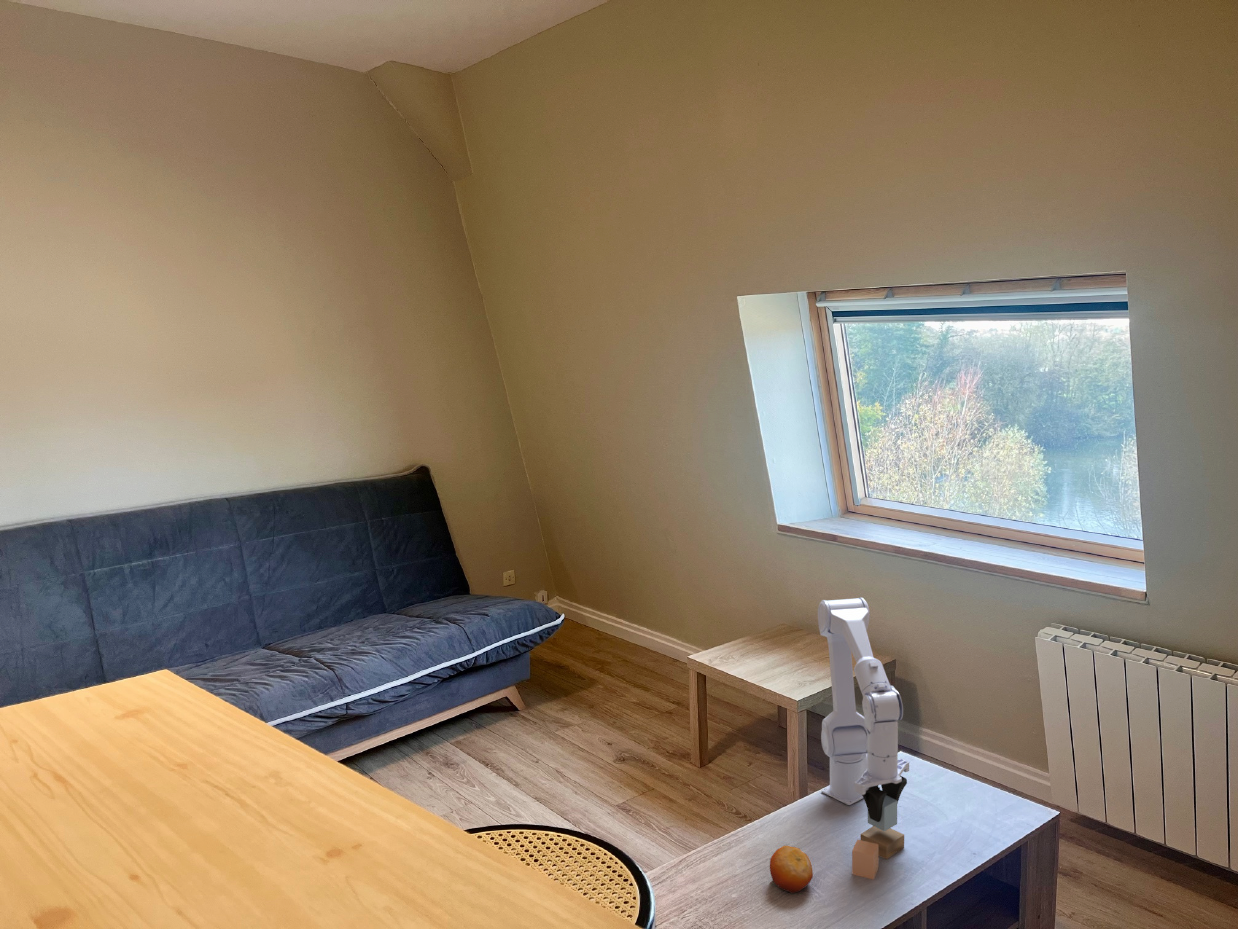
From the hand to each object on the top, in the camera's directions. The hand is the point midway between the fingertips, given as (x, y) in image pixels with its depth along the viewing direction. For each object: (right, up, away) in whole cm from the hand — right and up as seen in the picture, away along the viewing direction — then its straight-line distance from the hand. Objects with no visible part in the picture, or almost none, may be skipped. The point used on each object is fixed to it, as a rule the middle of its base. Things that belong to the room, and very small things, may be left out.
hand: (882, 815), depth 181 cm
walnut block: (0, -7, +1) cm, 7 cm away
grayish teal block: (0, -2, 0) cm, 2 cm away
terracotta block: (-5, -8, -7) cm, 12 cm away
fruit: (-20, -10, -10) cm, 24 cm away
